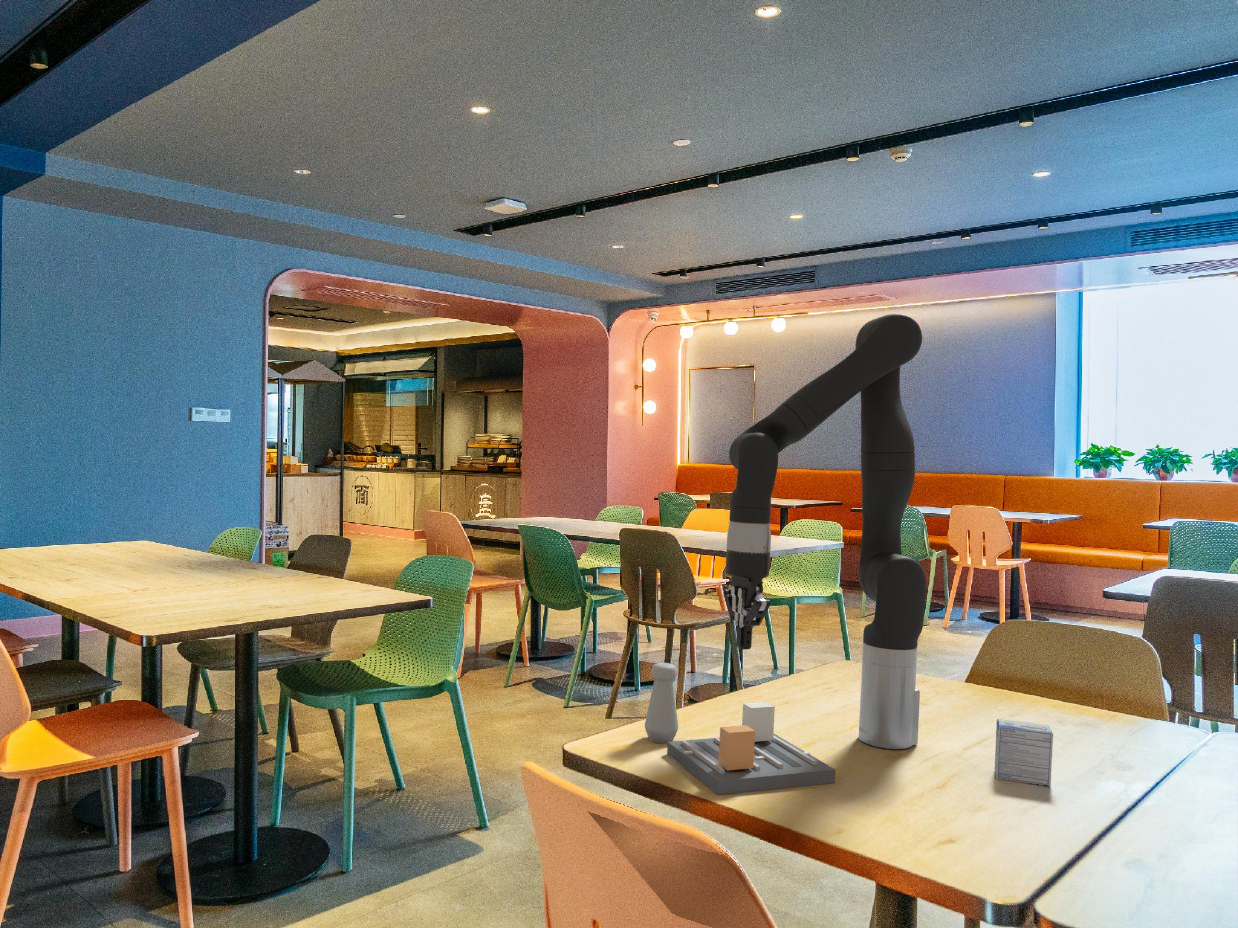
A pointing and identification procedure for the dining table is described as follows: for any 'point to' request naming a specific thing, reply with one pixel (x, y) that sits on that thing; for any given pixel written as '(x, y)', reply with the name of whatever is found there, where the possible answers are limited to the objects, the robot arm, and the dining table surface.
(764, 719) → the fader
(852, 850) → the dining table surface
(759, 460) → the robot arm
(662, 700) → the salt shaker
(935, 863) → the dining table surface
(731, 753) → the block
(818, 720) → the dining table surface
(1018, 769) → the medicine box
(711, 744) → the console
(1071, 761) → the dining table surface
